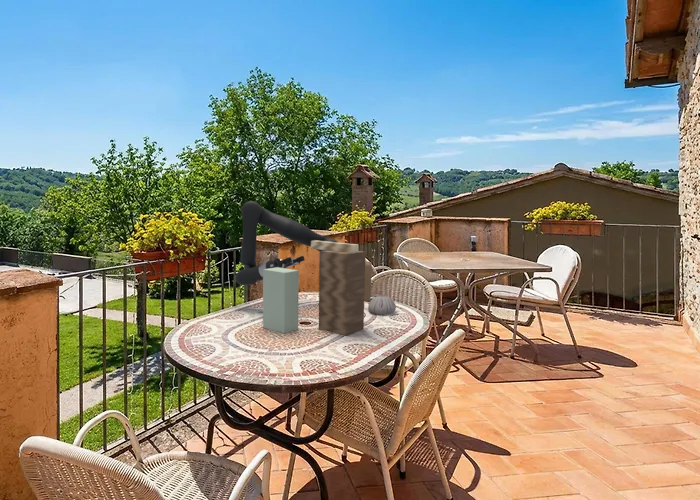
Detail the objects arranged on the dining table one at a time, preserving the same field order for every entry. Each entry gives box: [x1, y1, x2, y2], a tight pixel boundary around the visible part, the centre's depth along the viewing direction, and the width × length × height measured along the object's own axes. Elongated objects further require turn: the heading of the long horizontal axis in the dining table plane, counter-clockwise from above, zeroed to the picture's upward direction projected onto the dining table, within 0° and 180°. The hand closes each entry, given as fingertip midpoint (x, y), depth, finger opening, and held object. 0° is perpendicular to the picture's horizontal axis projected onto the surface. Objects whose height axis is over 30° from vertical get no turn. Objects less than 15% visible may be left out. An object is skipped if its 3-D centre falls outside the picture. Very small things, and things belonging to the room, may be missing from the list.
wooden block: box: [364, 261, 373, 302], centre depth 235 cm, size 10×10×20 cm
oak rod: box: [310, 240, 359, 253], centre depth 180 cm, size 22×3×3 cm, turn 54°
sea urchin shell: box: [367, 295, 397, 316], centre depth 209 cm, size 13×14×8 cm
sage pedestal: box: [262, 267, 300, 334], centre depth 179 cm, size 12×8×24 cm, turn 54°
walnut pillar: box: [317, 250, 367, 337], centre depth 179 cm, size 14×12×32 cm
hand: (297, 258), depth 192 cm, fingers open, 8 cm apart
